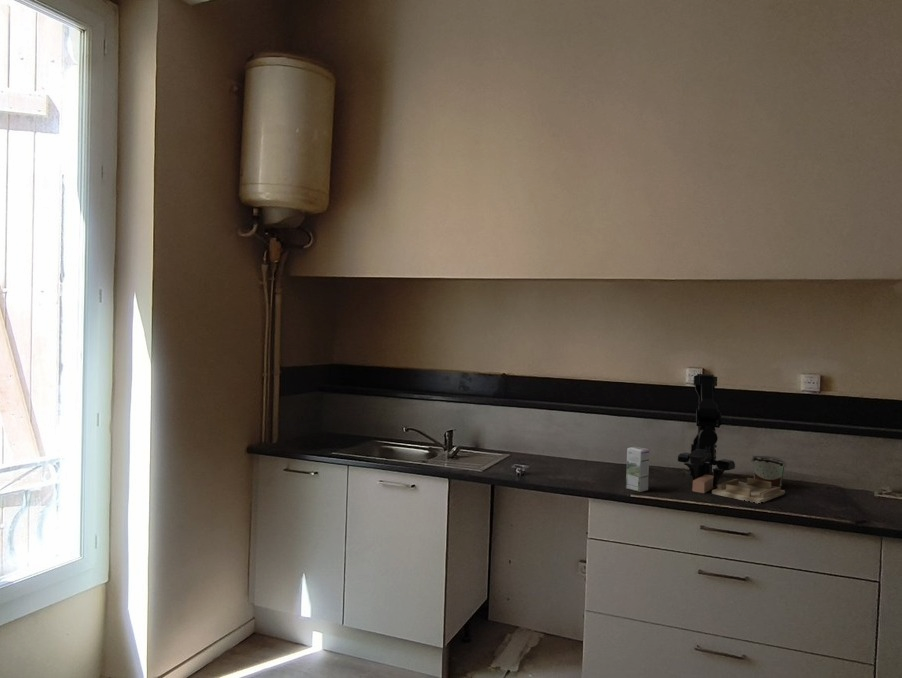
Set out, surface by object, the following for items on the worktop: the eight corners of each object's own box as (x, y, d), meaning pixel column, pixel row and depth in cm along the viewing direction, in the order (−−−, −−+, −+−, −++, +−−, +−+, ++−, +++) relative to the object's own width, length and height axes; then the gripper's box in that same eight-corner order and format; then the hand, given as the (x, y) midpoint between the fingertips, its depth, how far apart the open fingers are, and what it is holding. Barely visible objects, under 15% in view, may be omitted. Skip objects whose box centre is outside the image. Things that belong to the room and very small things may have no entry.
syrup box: (648, 490, 228) (650, 448, 228) (639, 492, 224) (640, 450, 224) (634, 486, 233) (636, 446, 232) (624, 489, 229) (626, 447, 228)
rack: (711, 493, 226) (712, 483, 226) (739, 484, 241) (739, 475, 241) (759, 503, 214) (759, 492, 214) (784, 493, 230) (785, 483, 229)
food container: (791, 486, 241) (792, 459, 241) (784, 489, 237) (785, 461, 237) (757, 480, 250) (758, 454, 250) (750, 482, 246) (751, 455, 246)
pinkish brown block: (692, 491, 229) (692, 480, 229) (705, 485, 240) (705, 474, 240) (704, 494, 227) (704, 482, 226) (716, 487, 237) (716, 476, 237)
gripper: (671, 439, 234) (669, 483, 235) (722, 448, 221) (720, 494, 221) (686, 437, 242) (684, 479, 242) (736, 444, 228) (734, 489, 229)
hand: (704, 485), depth 233 cm, fingers open, 7 cm apart
